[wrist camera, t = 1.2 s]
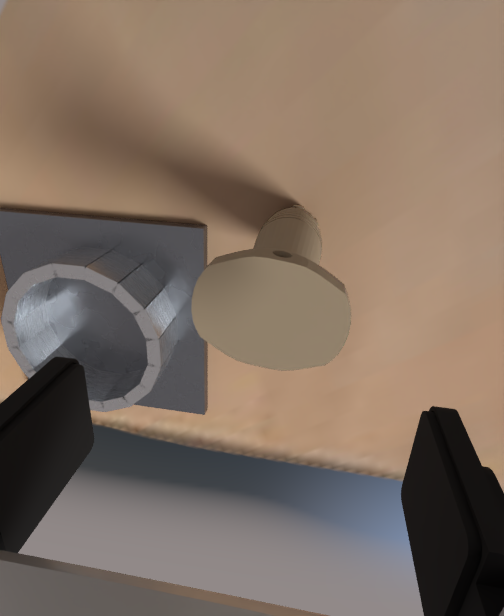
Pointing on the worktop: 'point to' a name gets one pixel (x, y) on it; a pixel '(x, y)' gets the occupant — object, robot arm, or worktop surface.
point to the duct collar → (107, 304)
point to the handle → (274, 299)
